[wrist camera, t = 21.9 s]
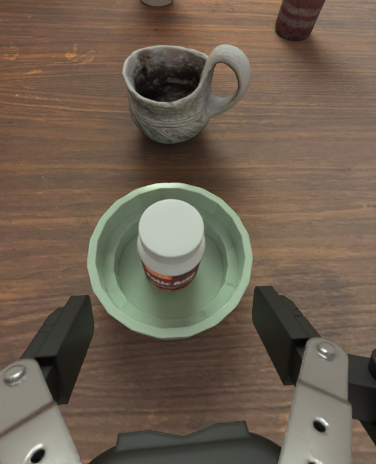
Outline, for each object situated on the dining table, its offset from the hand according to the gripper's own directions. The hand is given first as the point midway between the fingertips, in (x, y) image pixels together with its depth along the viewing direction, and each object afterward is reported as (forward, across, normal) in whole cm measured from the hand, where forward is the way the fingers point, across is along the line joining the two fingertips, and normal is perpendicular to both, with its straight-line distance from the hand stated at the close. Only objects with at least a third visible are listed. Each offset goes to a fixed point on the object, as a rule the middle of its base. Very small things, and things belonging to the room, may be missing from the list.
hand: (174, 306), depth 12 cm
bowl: (+10, 0, +4) cm, 11 cm away
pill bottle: (+10, 0, +3) cm, 11 cm away
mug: (+23, -2, -9) cm, 25 cm away
